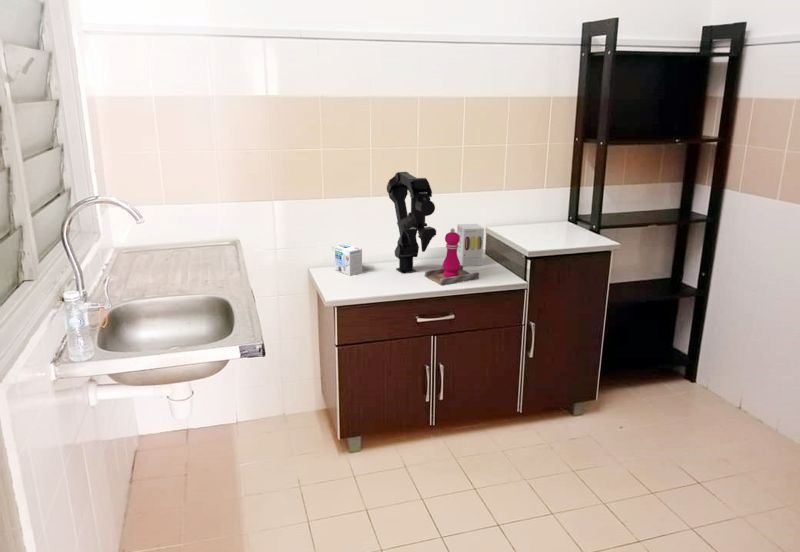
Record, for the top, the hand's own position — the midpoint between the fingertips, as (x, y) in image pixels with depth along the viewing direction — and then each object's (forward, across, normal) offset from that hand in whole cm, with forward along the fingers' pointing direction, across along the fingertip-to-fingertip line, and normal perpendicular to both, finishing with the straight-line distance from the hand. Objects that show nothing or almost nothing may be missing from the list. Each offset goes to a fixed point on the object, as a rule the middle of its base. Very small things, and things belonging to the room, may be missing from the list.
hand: (417, 248), depth 248 cm
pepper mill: (+13, +4, +14) cm, 19 cm away
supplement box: (+13, -10, +32) cm, 36 cm away
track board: (+13, +4, +14) cm, 20 cm away
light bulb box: (+13, -23, -20) cm, 33 cm away
